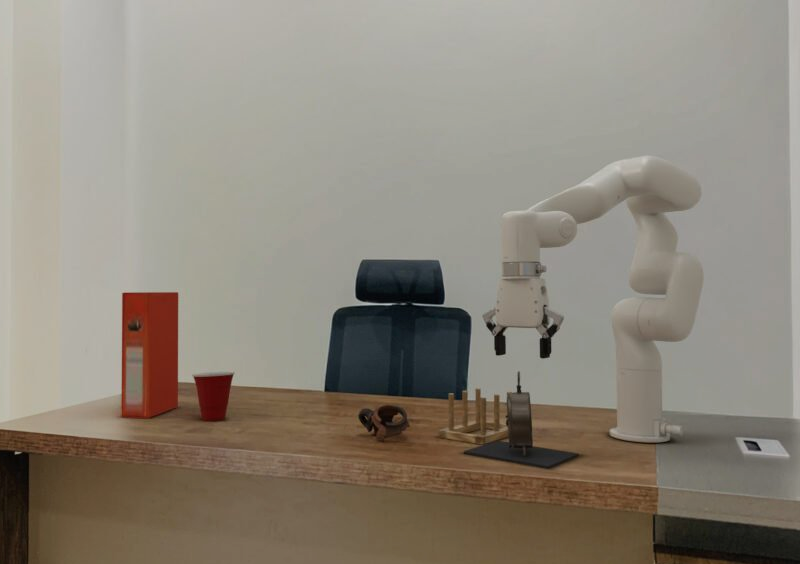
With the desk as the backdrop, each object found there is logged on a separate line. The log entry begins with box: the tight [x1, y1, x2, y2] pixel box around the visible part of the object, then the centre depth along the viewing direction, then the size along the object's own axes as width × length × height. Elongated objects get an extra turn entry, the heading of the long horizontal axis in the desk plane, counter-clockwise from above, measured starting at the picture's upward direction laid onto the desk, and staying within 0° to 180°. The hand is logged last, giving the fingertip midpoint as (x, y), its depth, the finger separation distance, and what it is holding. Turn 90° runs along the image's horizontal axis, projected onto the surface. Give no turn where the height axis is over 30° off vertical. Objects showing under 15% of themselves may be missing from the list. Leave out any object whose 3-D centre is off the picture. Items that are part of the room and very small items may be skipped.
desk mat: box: [463, 440, 580, 470], centre depth 143 cm, size 18×14×1 cm
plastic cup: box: [191, 371, 235, 422], centre depth 180 cm, size 11×11×12 cm
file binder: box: [120, 291, 179, 419], centre depth 190 cm, size 8×17×32 cm, turn 168°
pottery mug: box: [357, 403, 410, 442], centre depth 159 cm, size 12×10×8 cm
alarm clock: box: [504, 370, 534, 457], centre depth 144 cm, size 11×5×16 cm, turn 166°
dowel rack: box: [438, 387, 513, 445], centre depth 163 cm, size 11×18×10 cm, turn 139°
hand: (522, 356), depth 144 cm, fingers open, 9 cm apart
